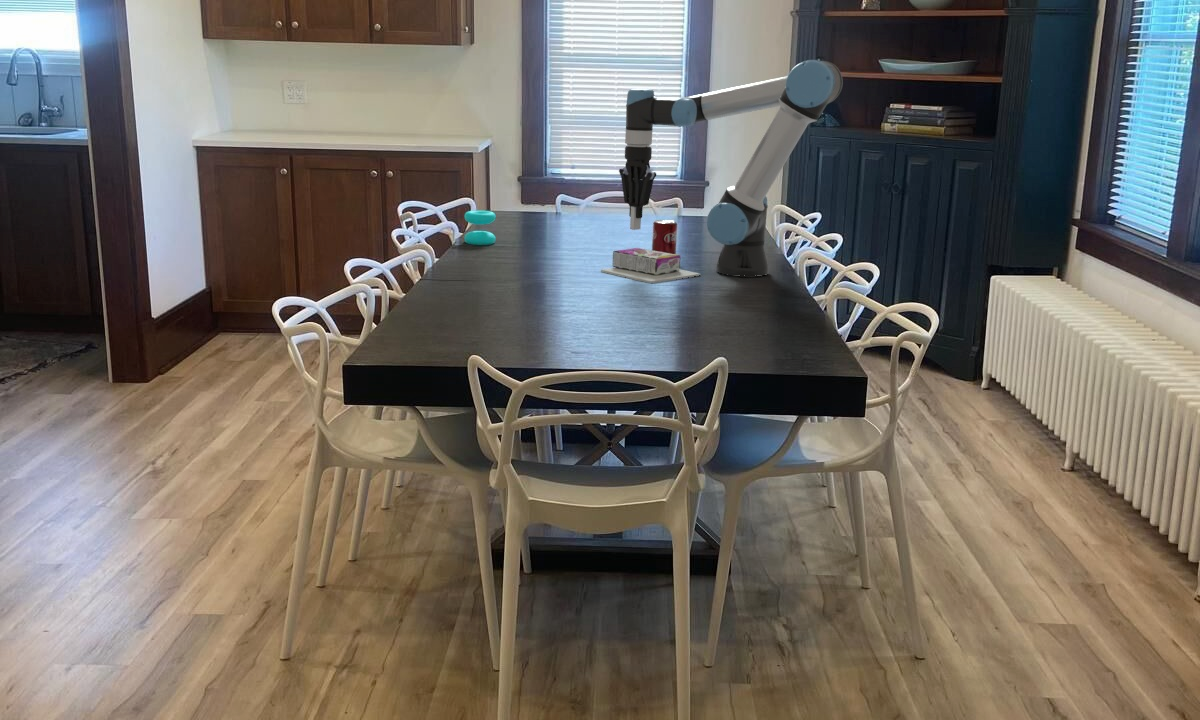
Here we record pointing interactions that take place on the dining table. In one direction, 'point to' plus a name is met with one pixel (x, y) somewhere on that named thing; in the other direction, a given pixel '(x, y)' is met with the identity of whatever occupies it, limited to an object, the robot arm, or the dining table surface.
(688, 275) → the mat
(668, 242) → the soda can
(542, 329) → the dining table surface
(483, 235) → the donuts
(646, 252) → the candy bar box
